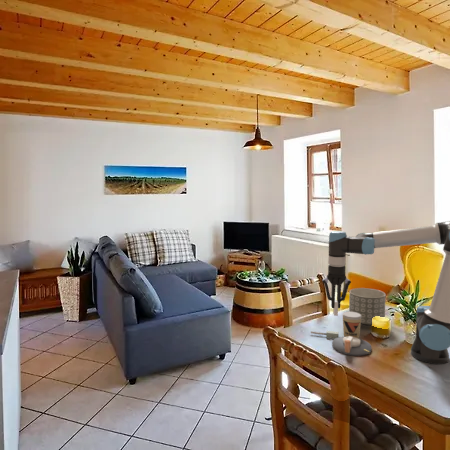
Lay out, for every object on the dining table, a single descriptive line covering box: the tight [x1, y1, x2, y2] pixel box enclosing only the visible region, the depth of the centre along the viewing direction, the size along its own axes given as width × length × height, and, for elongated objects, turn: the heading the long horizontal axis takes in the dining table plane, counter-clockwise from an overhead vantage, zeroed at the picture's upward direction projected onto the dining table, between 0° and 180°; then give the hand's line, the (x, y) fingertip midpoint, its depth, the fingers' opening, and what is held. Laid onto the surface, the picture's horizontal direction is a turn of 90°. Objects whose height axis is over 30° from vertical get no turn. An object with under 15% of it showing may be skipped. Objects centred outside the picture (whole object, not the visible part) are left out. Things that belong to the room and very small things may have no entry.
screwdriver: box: [310, 330, 340, 340], centre depth 186 cm, size 14×3×3 cm, turn 70°
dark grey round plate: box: [331, 336, 372, 357], centre depth 173 cm, size 18×18×2 cm
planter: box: [348, 287, 387, 327], centre depth 202 cm, size 19×19×18 cm
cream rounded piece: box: [343, 336, 361, 353], centre depth 169 cm, size 15×8×5 cm, turn 150°
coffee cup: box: [342, 311, 362, 339], centre depth 185 cm, size 9×9×12 cm
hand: (335, 314), depth 165 cm, fingers closed
